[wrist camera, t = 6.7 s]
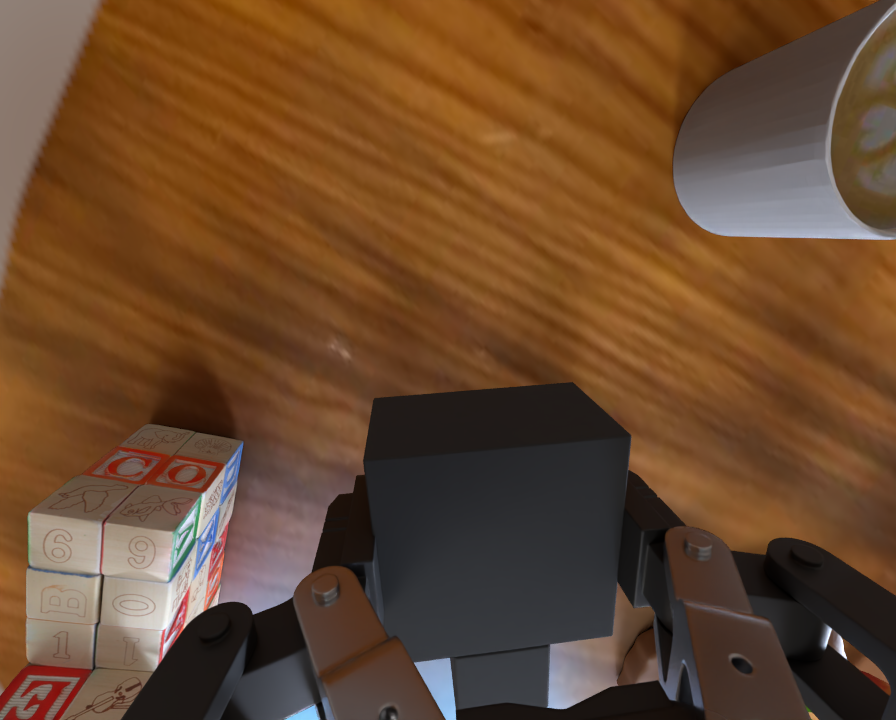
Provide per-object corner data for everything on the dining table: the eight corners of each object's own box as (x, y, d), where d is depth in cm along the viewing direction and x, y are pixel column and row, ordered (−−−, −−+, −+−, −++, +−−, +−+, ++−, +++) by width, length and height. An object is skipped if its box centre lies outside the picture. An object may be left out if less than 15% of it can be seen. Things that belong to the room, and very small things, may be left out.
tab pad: (397, 619, 15) (395, 731, 12) (373, 397, 12) (362, 460, 9) (562, 598, 15) (607, 700, 12) (573, 381, 13) (632, 435, 10)
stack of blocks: (145, 419, 27) (-42, 561, 16) (246, 438, 29) (143, 582, 17) (120, 665, 33) (-32, 907, 21) (206, 673, 34) (107, 905, 22)
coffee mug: (642, 191, 27) (778, 171, 17) (735, 28, 25) (947, -98, 15) (791, 283, 30) (976, 308, 20) (884, 145, 28) (1139, 101, 18)
